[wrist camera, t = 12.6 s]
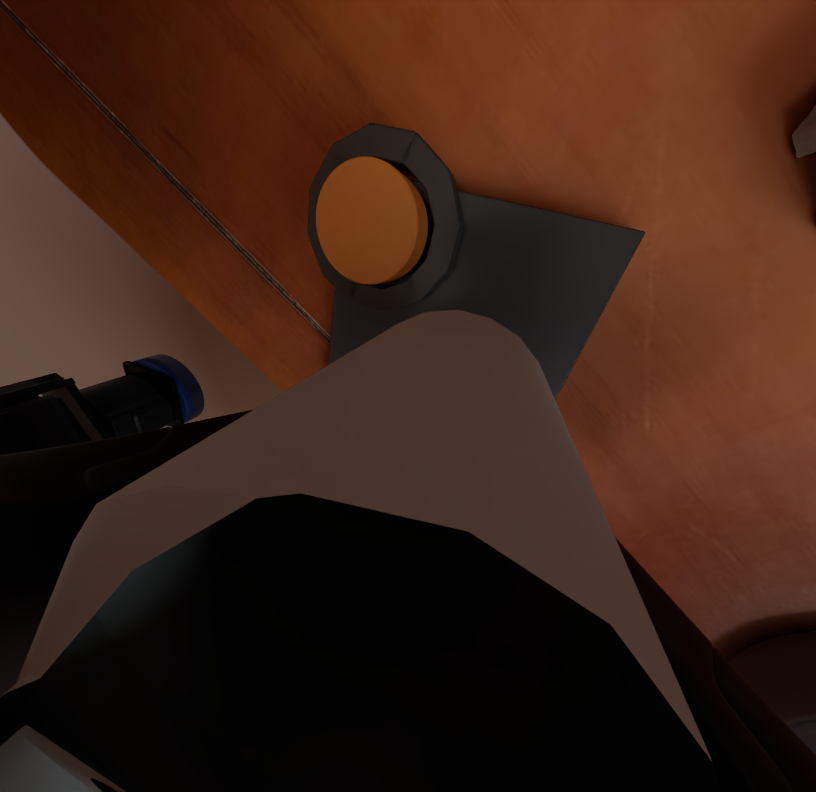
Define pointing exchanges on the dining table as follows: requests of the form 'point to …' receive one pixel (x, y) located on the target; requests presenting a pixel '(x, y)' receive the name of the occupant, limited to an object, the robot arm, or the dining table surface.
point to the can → (359, 602)
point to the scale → (479, 261)
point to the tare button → (371, 221)
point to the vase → (785, 679)
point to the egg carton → (806, 135)
